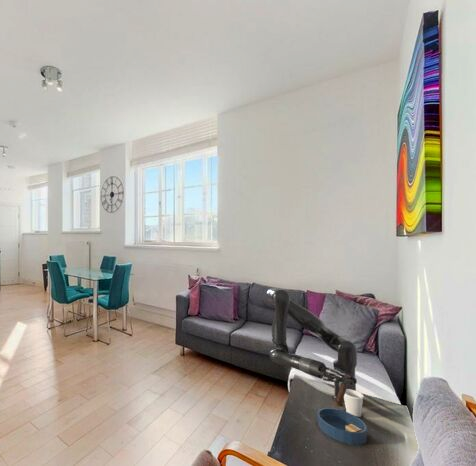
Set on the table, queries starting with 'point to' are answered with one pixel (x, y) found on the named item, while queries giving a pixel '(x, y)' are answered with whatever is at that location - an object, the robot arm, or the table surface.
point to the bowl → (341, 426)
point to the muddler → (341, 392)
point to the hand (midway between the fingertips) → (354, 382)
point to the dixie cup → (353, 402)
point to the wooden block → (352, 428)
